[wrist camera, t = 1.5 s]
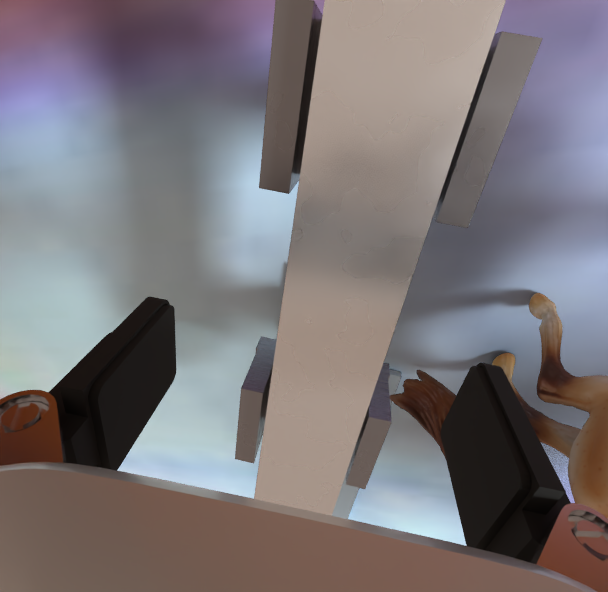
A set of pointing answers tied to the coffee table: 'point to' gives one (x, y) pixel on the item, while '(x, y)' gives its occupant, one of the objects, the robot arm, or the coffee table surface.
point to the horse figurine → (550, 388)
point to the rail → (362, 221)
